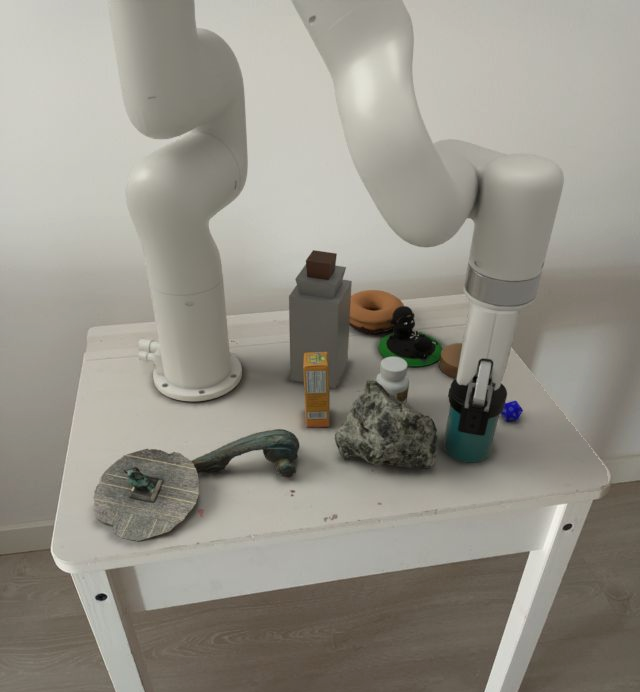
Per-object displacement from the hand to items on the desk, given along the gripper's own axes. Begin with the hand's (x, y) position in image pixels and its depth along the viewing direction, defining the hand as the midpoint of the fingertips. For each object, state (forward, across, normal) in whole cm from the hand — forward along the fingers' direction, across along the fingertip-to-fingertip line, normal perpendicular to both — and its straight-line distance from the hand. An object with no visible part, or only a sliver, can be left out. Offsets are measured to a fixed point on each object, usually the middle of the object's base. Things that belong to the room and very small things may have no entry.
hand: (474, 412), depth 81 cm
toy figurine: (+6, -20, -11) cm, 24 cm away
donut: (+1, -27, -18) cm, 32 cm away
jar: (+6, 0, 0) cm, 6 cm away
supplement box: (+6, 0, -20) cm, 21 cm away
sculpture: (+7, +21, -37) cm, 43 cm away
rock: (+6, +5, -10) cm, 13 cm away
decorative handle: (+6, +12, -26) cm, 30 cm away
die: (+6, -8, +5) cm, 11 cm away
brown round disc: (+6, -18, -2) cm, 19 cm away
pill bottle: (+6, -4, -11) cm, 13 cm away
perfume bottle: (+6, -11, -23) cm, 26 cm away
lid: (-3, 0, 0) cm, 3 cm away
